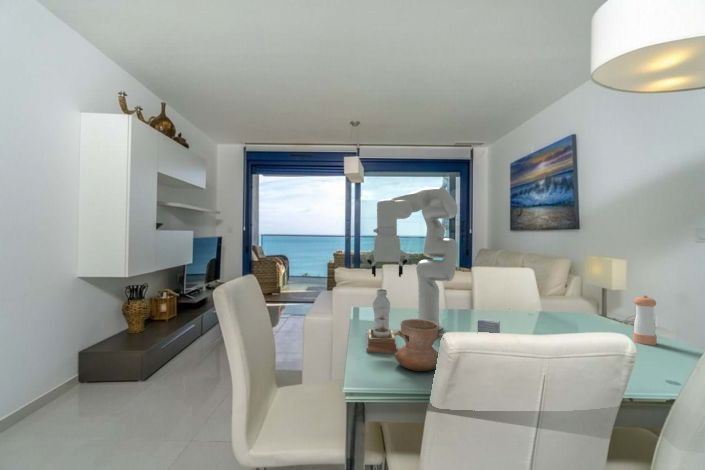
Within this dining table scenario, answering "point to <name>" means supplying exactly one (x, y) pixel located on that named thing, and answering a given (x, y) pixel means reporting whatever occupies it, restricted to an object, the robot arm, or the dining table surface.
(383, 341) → the box
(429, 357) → the ceramic jug
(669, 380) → the dining table surface
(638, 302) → the pepper shaker
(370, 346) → the wooden tray
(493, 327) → the medicine box
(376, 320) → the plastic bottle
